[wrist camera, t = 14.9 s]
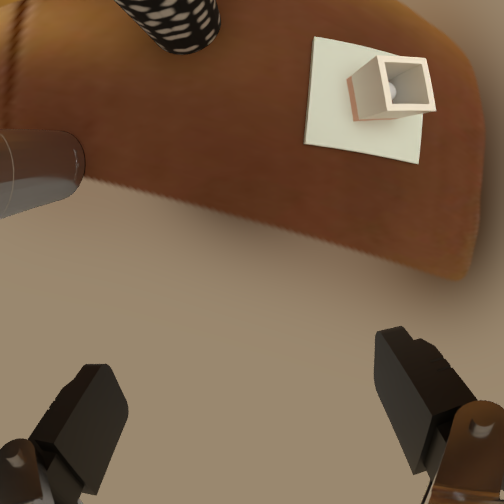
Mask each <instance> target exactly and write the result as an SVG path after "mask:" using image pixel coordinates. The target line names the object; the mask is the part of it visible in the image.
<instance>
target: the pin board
mask: <svg viewBox="0 0 504 504" xmlns="http://www.w3.org/2000/svg"><path fill="white" fill-rule="evenodd" d="M376 55H381V56H398V55H394V54H391V53H387V52H383V51H380V50H376V49H372V48H368V47H364V46H360V45H355V44H351V43H346V42H341V41H336V40H331V39H326V38H320V37H314V39H313V41H312V54H311V67H310V79H309V91H308V102H307V113H306V123H305V133H304V143H303V144H307V145H314V146H321V147H328V148H335V149H341V150H347V151H353V152H358V153H364V154H369V155H375V156H380V157H385V158H390V159H395V160H400V161H404V162H409V163H414V164H418V162H419V154H420V144H421V132H422V119H423V113H422V114H417V115H412V116H407V117H403V118H398V119H394V120H369V121H353V115H352V109H351V103H350V97H349V91H348V86H347V80H346V79H347V78H349V77H350V76H351V75H352V74H354V73H355V72H356V71H357V70H359V69H360V68H361V67H362V66H364V65H365V64H366V63H367V62H369V61H370V60H371V59H373V58H374V57H375V56H376ZM389 87H390V93H391V99H394V98H395V96H396V88H395V86H394V85H393V84H392V83H390V82H389Z"/></svg>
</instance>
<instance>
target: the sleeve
mask: <svg viewBox="0 0 504 504" xmlns="http://www.w3.org/2000/svg"><path fill="white" fill-rule="evenodd" d="M346 80H347V86H348V91H349V97H350V103H351V109H352V115H353V121H369V120H394V119H398V118H403V117H407V116H412V115H417V114H422V113H427V112H432V111H436V108H435V102H434V96H433V90H432V85H431V80H430V75H429V70H428V65H427V61H426V58H418V57H403V56H381V55H376V56H375V57H374V58H373V59H371V60H370V61H369V62H367V63H366V64H365V65H364V66H362V67H361V68H360V69H359V70H357V71H356V72H355V73H354V74H352V75H351V76H350V77H349V78H347V79H346ZM389 82H390V83H392V84H393V85H394V86H395V88H396V96H395V98H394V99H391V93H390V87H389Z"/></svg>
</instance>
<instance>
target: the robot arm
mask: <svg viewBox="0 0 504 504" xmlns="http://www.w3.org/2000/svg"><path fill="white" fill-rule="evenodd" d="M84 169H85V157H84V153H83V149H82V147H81V145H80V143H79V142H78V140H77V139H76V138H75V137H74V136H73V135H72V134H70V133H68V132H64V131H52V130H29V129H0V219H2V218H5V217H8V216H11V215H14V214H17V213H20V212H23V211H26V210H29V209H32V208H35V207H38V206H42V205H45V204H49V203H52V202H55V201H59V200H62V199H65V198H67V197H69V196H70V195H72V194H73V193H74V192H75V191H76V189H77V188H78V187H79V184H80V183H81V181H82V178H83V174H84ZM374 381H375V387H376V391H377V393H378V396H379V398H380V400H381V402H382V404H383V407H384V409H385V411H386V413H387V415H388V417H389V419H390V422H391V424H392V426H393V429H394V431H395V433H396V436H397V438H398V440H399V442H400V445H401V447H402V449H403V452H404V454H405V456H406V459H407V461H408V463H409V466H410V468H411V470H412V473H413V475H415V474H418V473H421V472H424V471H426V470H427V472H428V475H429V477H430V481H429V483H428V485H427V488H426V490H425V493H424V495H423V498H422V500H421V503H420V504H504V500H500V490H503V491H504V409H503V408H502V407H501V406H500V405H498V404H496V403H494V402H491V401H486V400H479V401H478V400H477V399H476V397H475V396H474V395H473V393H472V392H471V391H470V390H469V388H468V387H467V386H466V384H465V383H464V382H463V380H462V379H461V378H460V377H459V375H458V374H457V373H456V372H455V370H454V369H453V368H451V367H450V364H449V363H448V362H447V360H446V359H444V358H443V356H442V354H441V353H440V352H439V351H438V349H437V348H436V347H435V346H434V345H432V344H430V343H428V342H427V341H425V340H423V339H417V340H413V339H412V337H411V336H410V335H409V334H408V332H407V331H406V330H405V328H404V327H402V326H399V327H394V328H390V329H386V330H381V331H377V333H376V336H375V359H374ZM49 408H50V409H49V410H47V411H46V413H45V414H44V416H43V417H42V419H41V420H40V422H39V423H38V425H37V426H36V428H35V429H34V431H33V433H32V434H31V435H30V437H29V438H28V440H27V439H15V440H12V441H10V442H8V443H7V444H5V445H4V446H3V447H2V448H1V449H0V504H83V502H82V501H81V500H80V499H79V497H80V495H81V492H82V493H87V494H91V495H97V493H98V490H99V488H100V485H101V482H102V480H103V477H104V475H105V472H106V470H107V467H108V465H109V462H110V460H111V457H112V455H113V452H114V450H115V447H116V445H117V442H118V440H119V438H120V435H121V433H122V430H123V428H124V425H125V423H126V421H127V418H128V404H127V401H126V399H125V397H124V395H123V393H122V390H121V389H120V386H119V384H118V382H117V380H116V378H115V375H114V373H113V371H112V369H111V368H110V366H109V365H107V364H86V365H84V366H83V367H82V368H81V370H80V371H79V373H78V374H77V375H76V377H75V378H74V380H72V381H71V382H70V383H69V384H67V385H66V386H65V387H63V389H62V390H61V391H60V393H59V394H58V396H57V397H56V398H55V401H53V403H52V404H51V406H50V407H49Z"/></svg>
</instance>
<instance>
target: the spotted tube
mask: <svg viewBox="0 0 504 504" xmlns="http://www.w3.org/2000/svg"><path fill="white" fill-rule="evenodd" d="M114 1H115V2H116V3H117V4H118V5H119V6H120V7H121V8H122V9H123V10H124V11H125V12H126V13H127V14H128V15H129V16H130V17H131V18H132V19H133V20H134V21H135V22H136V23H137V24H138V25H139V26H140V27H141V28H142V29H143V30H144V31H145V32H146V33H147V34H148V35H149V36H150V37H151V38H152V39H153V40H154V41H155V42H156V43H157V44H158V45H159V47H161V48H162V49H163V50H165V51H167V52H169V53H173V54H181V55H183V54H190V53H194V52H197V51H199V50H201V49H203V48H204V47H206V46H208V45H209V44H210V43H211V42H212V41H213V40H214V38H215V37H216V36H217V34H218V32H219V30H220V25H221V18H220V14H219V10H218V7H217V3H216V0H114Z"/></svg>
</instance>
